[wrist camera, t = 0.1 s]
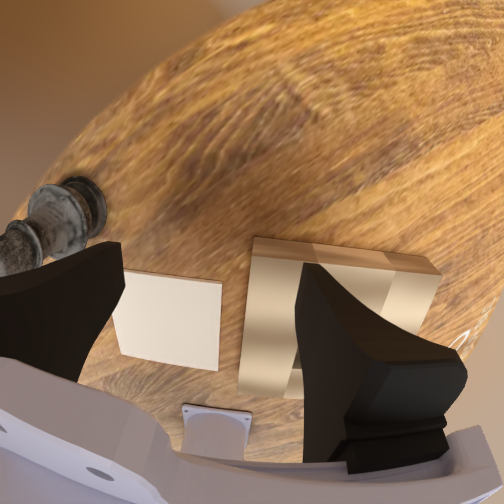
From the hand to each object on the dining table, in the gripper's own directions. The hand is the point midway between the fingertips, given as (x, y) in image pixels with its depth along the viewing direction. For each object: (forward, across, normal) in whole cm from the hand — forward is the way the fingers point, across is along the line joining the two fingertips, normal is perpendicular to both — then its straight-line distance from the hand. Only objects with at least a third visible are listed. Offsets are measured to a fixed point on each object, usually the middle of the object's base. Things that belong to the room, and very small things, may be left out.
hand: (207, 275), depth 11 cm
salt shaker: (+10, +12, +2) cm, 16 cm away
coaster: (+10, +5, +12) cm, 16 cm away
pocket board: (+10, -9, +10) cm, 16 cm away
